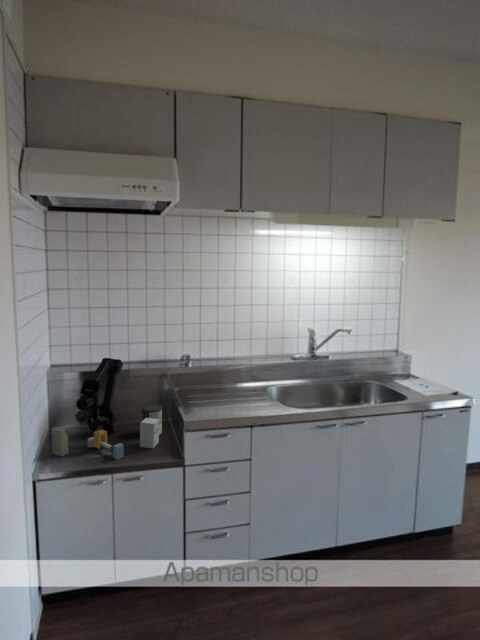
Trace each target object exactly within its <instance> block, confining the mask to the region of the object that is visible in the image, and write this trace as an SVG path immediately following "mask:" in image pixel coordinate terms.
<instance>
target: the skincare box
mask: <svg viewBox="0 0 480 640" xmlns="http://www.w3.org/2000/svg"><path fill="white" fill-rule="evenodd" d="M51 441H52V442H51V444H52V445H51V446H52V455H55V456H58V457H59V456H60V457H64V456H66V455H68V454H69V453H70V449H69V447H70V446H69V429H68V428H67V427H62V426H56V427H54V428H52V429H51Z"/></svg>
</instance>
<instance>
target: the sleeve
mask: <svg viewBox="0 0 480 640" xmlns="http://www.w3.org/2000/svg"><path fill="white" fill-rule="evenodd" d="M93 437H94V446H93V447H95V448H97V449H101V447H102V445H100V439H101V441H103V442H105V443H107V444H108V435H107V431H105V430H101V429H100V430H96V431H95V432H94V434H93Z"/></svg>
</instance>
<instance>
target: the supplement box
mask: <svg viewBox="0 0 480 640" xmlns="http://www.w3.org/2000/svg"><path fill="white" fill-rule="evenodd" d="M159 441H160V435H159V419H153V418H145V419H144V420H143V419H142V420H141V422H140V423H139V447H141V448H145V449H146V448H148V449H155V447H156V446H157V445H158V444H159Z"/></svg>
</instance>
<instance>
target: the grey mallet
mask: <svg viewBox="0 0 480 640" xmlns="http://www.w3.org/2000/svg"><path fill="white" fill-rule="evenodd" d="M86 443H87V447H88V448H93V447H94V436H91V437H88V438H87V442H86ZM100 446H101V447H104V448H106V449H109V452H111V453H112V454H113V455H112V457H113V459H114V460H120V459H122V458H124V457H125V456H124V455H125V452H124V450H125V448H124V447H125V445H124V444H123V443H117V444H112V445H111V444H109V443H108V442H107V443H105V442H103V441H101V438H100Z"/></svg>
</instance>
